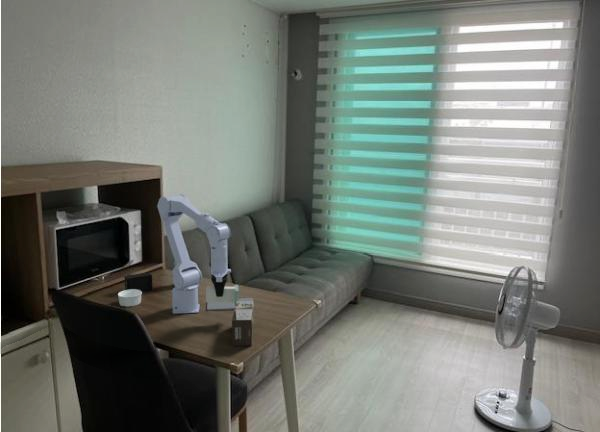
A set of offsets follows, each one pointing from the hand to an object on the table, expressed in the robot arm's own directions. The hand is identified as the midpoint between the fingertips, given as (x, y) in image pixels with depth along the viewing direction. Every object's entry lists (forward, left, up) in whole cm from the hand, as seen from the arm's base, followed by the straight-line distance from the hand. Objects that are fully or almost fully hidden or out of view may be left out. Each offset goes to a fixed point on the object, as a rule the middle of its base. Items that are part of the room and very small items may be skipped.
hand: (219, 294), depth 164 cm
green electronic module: (-17, +40, -10) cm, 45 cm away
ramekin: (-35, +21, -10) cm, 42 cm away
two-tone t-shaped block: (0, 0, -2) cm, 2 cm away
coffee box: (+9, -4, -6) cm, 11 cm away
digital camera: (-34, +35, -10) cm, 50 cm away
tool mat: (+4, +15, -10) cm, 18 cm away
